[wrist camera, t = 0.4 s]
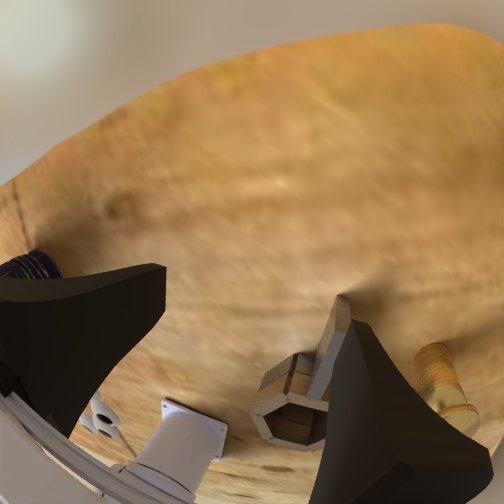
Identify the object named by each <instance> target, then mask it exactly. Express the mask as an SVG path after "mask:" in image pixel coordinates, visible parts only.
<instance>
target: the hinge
mask: <svg viewBox="0 0 504 504" xmlns="http://www.w3.org/2000/svg"><path fill="white" fill-rule="evenodd" d="M350 323H351V302H350V299H349V298H345V297H342V296H338V295H337V297H336V300H335V302H334V305H333V308H332V311H331V314H330V317H329V319H328V322H327V325H326V328H325V330H324V333H323V336H322V338H321V341H320V344H319V346H318V349H317V351H316V354H315V356H314V357H312V356H308V355H304V354H301V353H299V355H298V357H297V356H295V355H294V354H293V355H291V356H290V357H288V358H287V359H286V360H284V361H283V362H281V363H280V364H278V365H277V366H275V367H274V368H272V369H271V370H270V371H268V372H267V373H265V375H264V378H263V380H262V383H261V385H260V388H259V390H258V393H257V395H256V398H255V400H254V402H253V405H252V407H251V410H250V413H249V414H250V416H251V418H252V420H253V422H254V424H255V426H256V427H257V429H258V431H259V433H260V435H261V437H262V438H263V440H268V443H272V444H275V445H279V446H283V447H287V448H290V449H294V450H299V451H303V452H308V450H310V451H311V452H314V451H317V450H319V449H322V448H324V445H325V439H326V431H327V419H328V406H329V391H330V382H331V377H332V371H333V366H334V362H335V359H336V357H337V355H338V352H339V350H340V348H341V345H342V343H343V340H344V338H345V335H346V333H347V330H348V328H349V325H350Z"/></svg>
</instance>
